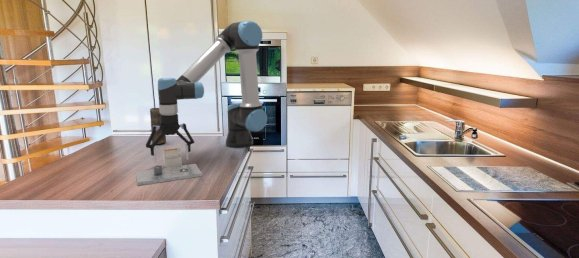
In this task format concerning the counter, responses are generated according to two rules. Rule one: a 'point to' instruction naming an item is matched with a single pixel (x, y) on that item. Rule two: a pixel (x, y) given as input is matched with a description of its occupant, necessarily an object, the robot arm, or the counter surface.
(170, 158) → the knob
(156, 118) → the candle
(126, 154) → the counter surface
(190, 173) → the panel
